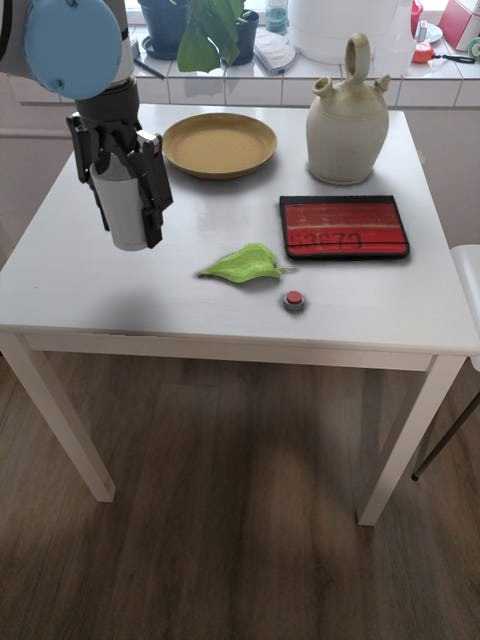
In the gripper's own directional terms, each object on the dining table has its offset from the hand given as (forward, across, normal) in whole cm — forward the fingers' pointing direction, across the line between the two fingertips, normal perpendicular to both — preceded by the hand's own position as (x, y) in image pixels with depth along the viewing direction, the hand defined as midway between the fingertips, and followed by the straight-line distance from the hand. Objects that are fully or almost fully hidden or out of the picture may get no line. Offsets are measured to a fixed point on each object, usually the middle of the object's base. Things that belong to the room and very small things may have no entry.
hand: (133, 234), depth 73 cm
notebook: (+7, -24, -26) cm, 36 cm away
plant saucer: (+7, +8, -37) cm, 39 cm away
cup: (+1, 0, 0) cm, 1 cm away
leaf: (+8, -14, -9) cm, 19 cm away
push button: (+8, -24, -6) cm, 26 cm away
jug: (+7, -16, -44) cm, 48 cm away
